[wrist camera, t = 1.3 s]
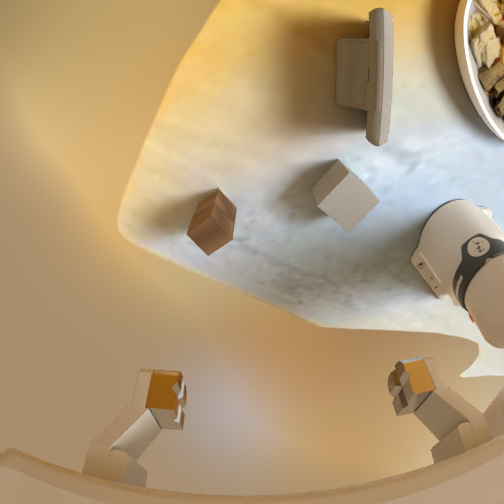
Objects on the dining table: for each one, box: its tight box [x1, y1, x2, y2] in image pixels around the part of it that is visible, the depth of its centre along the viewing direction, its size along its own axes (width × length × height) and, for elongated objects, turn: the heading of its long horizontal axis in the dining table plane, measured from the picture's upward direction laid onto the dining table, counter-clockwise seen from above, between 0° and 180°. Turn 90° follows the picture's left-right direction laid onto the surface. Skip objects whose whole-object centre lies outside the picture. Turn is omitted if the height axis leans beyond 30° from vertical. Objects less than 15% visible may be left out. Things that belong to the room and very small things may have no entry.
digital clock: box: [335, 8, 393, 146], centre depth 29 cm, size 16×9×11 cm, turn 170°
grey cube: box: [311, 159, 380, 232], centre depth 41 cm, size 6×6×6 cm
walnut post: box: [187, 188, 237, 256], centre depth 41 cm, size 4×4×9 cm
